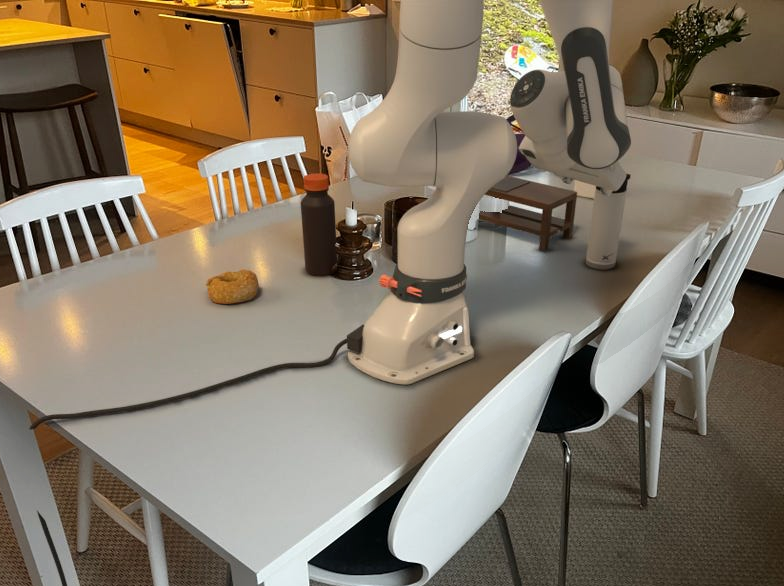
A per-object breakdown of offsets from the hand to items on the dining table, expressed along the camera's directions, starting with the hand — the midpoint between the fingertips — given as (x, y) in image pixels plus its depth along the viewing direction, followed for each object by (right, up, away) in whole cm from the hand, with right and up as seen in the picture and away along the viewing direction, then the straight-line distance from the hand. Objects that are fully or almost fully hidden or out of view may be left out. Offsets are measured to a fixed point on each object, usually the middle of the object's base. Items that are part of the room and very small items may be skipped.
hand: (588, 186), depth 146 cm
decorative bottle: (-3, +24, +81) cm, 84 cm away
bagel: (-70, -21, +1) cm, 73 cm away
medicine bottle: (+14, +11, +58) cm, 60 cm away
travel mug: (+6, -13, +16) cm, 22 cm away
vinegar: (-54, -15, +12) cm, 57 cm away
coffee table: (-9, -4, +32) cm, 33 cm away
